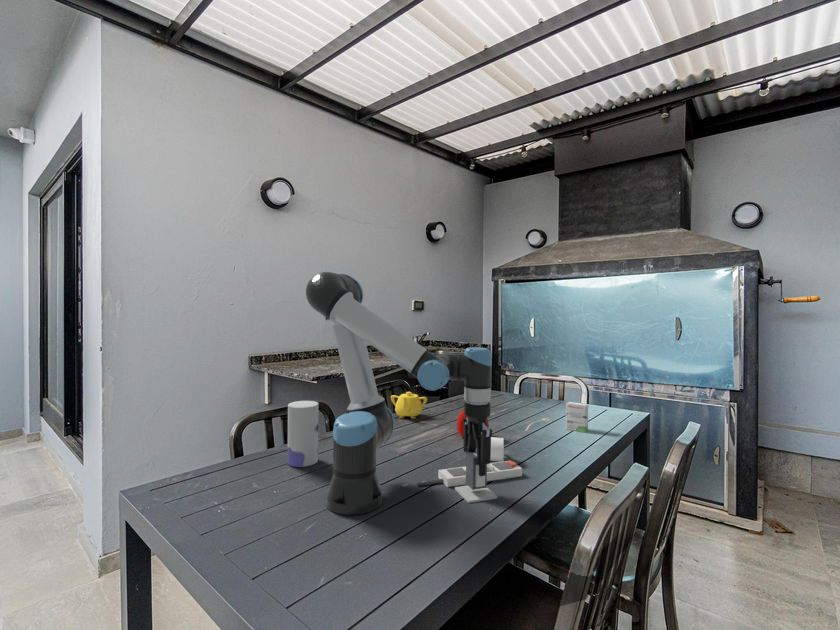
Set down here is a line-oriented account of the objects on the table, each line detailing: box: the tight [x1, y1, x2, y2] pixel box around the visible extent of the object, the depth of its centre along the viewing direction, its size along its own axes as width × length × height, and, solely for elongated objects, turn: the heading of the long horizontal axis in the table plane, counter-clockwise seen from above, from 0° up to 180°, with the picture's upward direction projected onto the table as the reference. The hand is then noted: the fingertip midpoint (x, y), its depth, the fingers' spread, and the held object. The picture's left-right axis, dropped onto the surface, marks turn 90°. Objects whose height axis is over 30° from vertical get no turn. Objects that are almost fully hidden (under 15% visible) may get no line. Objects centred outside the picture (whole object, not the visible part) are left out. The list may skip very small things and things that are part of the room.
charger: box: [465, 452, 488, 490], centre depth 120 cm, size 4×4×9 cm
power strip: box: [416, 460, 523, 488], centre depth 131 cm, size 34×7×4 cm, turn 110°
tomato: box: [456, 409, 490, 438], centre depth 172 cm, size 14×13×10 cm
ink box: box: [565, 401, 589, 433], centre depth 184 cm, size 9×5×12 cm, turn 56°
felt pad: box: [454, 484, 498, 504], centre depth 120 cm, size 9×9×1 cm
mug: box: [490, 436, 505, 462], centre depth 149 cm, size 12×10×8 cm
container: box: [287, 400, 319, 468], centre depth 142 cm, size 10×10×20 cm
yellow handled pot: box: [390, 391, 428, 420], centre depth 202 cm, size 14×14×12 cm
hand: (475, 482), depth 120 cm, fingers closed on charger, 4 cm apart
